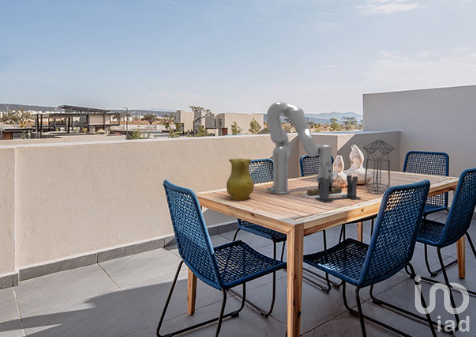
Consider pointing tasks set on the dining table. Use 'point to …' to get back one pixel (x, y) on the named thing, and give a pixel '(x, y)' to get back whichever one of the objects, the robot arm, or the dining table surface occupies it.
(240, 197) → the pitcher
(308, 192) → the rod
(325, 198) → the rack
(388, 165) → the geometric lantern
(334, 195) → the mat
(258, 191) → the dining table surface
